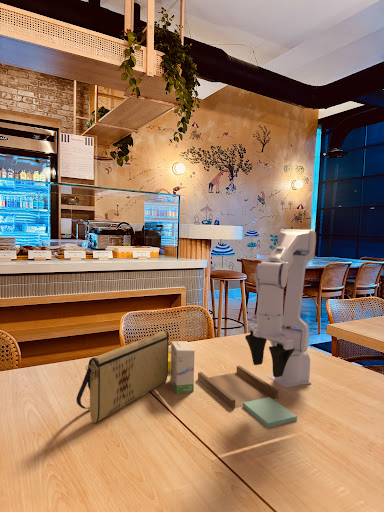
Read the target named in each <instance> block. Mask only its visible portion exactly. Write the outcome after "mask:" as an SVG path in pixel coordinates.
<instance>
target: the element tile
mask: <svg viewBox="0 0 384 512" xmlns="http://www.w3.org/2000/svg"><path fill="white" fill-rule="evenodd" d="M169 373H171V344H168V374H169Z"/></svg>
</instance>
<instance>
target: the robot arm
mask: <svg viewBox="0 0 384 512" xmlns="http://www.w3.org/2000/svg"><path fill="white" fill-rule="evenodd" d="M316 245H317V232H316V231H315V229H285V228H281V229H280V230H279V232H278V235H277V246H276V247H274V249H272V251H271V252H270V253H269V255H268V257H267V258H266V259H265V261H261V262H260V263H258V264H257V265H256V268H255V272H254V273H255V274H254V280H255V286H256V288H255V289H256V290H255V291H256V293H257V316H256V317H257V319H256V323H249V324H247V332H248V334H247V335H245V336H244V337H245V340H246V342H247V344H248V347H249V350H250V354H251V358H252V359H251V360H252V362H253V363H252V364H253V365H254V366H259V365H263V363H264V355H265V354H264V353H265V347H266V344H267V341H270V346H268V350H269V353H270V355H271V360H272V361H271V362H272V375H268V378H269V379H271V380H272V381H274V382H276V383H277V384H279V385H280V386H282V387H284V388H287V389H288V388H292V387H296V386H300V385H309V384H312V381H311V380H310V374H311V373H310V372H311V359H310V355H309V353H308V352H307V351H308V348H309V342H310V341H309V339H310V335H309V333H310V332H309V331H310V329H309V325H308V324H307V323H306V322H305V321H304V320H303V319H302V318H301V310H302V301H303V292H304V284H305V275H306V268H307V265H308V263H309V262H310V261H312V260H314V257H315V253H316ZM285 287H286V290H285V291H284V288H285ZM284 292H285V299H284ZM289 327H290V328H289ZM295 328H296V329H295Z"/></svg>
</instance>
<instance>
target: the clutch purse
mask: <svg viewBox="0 0 384 512" xmlns="http://www.w3.org/2000/svg"><path fill="white" fill-rule="evenodd" d="M169 338H170V334H169V332H168V331H167V330H163V331H159V332H158V333H155V334H153V335H150V336H148V337H144V338H142V339H138V340H137V341H134V342H131V343H129V344H126V345H123V346H121V347H118V348H115V349H113V350H110V351H108V352H104V353H102V354H99V355H96V356H93V357H91V358H90V359H89V361H88V363H87V365H86V366H85V370H86V373H85V375H84V377H83V378H84V379H83V380H82V383H81V385H80V388H79V390H78V393H77V396H76V399H75V401H76V405H78V406H79V407H80V408H82V409H86V410H89V413H90V420H91V422H92V423H93V424H97V423H98V422H100V421H102V419H104V418H107V417H108V416H109V415H111V414H113V413H115V412H116V411H118V410H120V409H122V408H123V407H125V406H127V405H129V404H130V403H132V402H133V401H135V400H137V399H138V398H141V397H143V396H144V395H146V394H147V393H149V392H151V391H152V390H154V389H156V388H157V387H159V386H160V385H162V384H164V383H166V382H167V380H168V374H169V372H168V345H169ZM87 387H88V390H89V407H85V406H84V405H83V404H82V401H81V400H82V397H83V394H84V392H85V389H86V388H87Z"/></svg>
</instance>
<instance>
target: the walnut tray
mask: <svg viewBox="0 0 384 512" xmlns="http://www.w3.org/2000/svg"><path fill="white" fill-rule="evenodd" d="M197 380H198V381H199V382H200V383H201V384H202V385H203V386H205V387H206V388H207V389H208V390H209V391H210V392H212V393H213V395H215V396H216V397H218V399H220V400H221V401H222V402H223V403H225V404H226V405H227V407H229V408H230V409H237V408H240V407H243V403H244V402H248V401H253V400H258V399H262V398H267V397H270V398H272V399H273V400H275V399H276V400H277V399H279V389H277V388H275V386H273V385H271V384H269V383H267V382H266V381H265V380H263V379H261V378H260V377H258V376H257V375H255V374H254V373H252V372H250V371H249V370H248V369H246V368H245V367H242V366H241V365H237V366H236V372H232V373H226V374H221V375H214V376H210V377H208V376H207V375H206V374H204V372H201V371H199V372H197Z"/></svg>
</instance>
